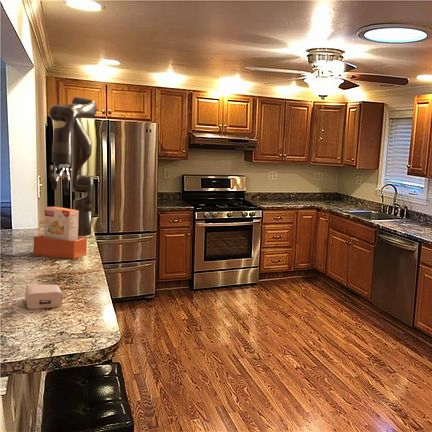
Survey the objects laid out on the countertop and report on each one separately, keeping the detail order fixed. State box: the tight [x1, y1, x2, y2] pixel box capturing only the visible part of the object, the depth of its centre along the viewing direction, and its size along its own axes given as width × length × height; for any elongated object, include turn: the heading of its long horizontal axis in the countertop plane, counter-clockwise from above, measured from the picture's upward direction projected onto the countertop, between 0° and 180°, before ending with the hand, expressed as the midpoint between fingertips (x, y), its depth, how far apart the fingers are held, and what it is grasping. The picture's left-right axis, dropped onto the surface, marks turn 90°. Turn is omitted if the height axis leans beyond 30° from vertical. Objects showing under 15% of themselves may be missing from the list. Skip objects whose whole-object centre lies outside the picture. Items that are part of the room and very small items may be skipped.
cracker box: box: [43, 206, 79, 241], centre depth 206 cm, size 14×6×21 cm, turn 71°
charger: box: [25, 283, 63, 310], centre depth 145 cm, size 5×9×15 cm
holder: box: [32, 233, 88, 260], centre depth 207 cm, size 11×19×8 cm, turn 85°
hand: (60, 189), depth 204 cm, fingers open, 8 cm apart
